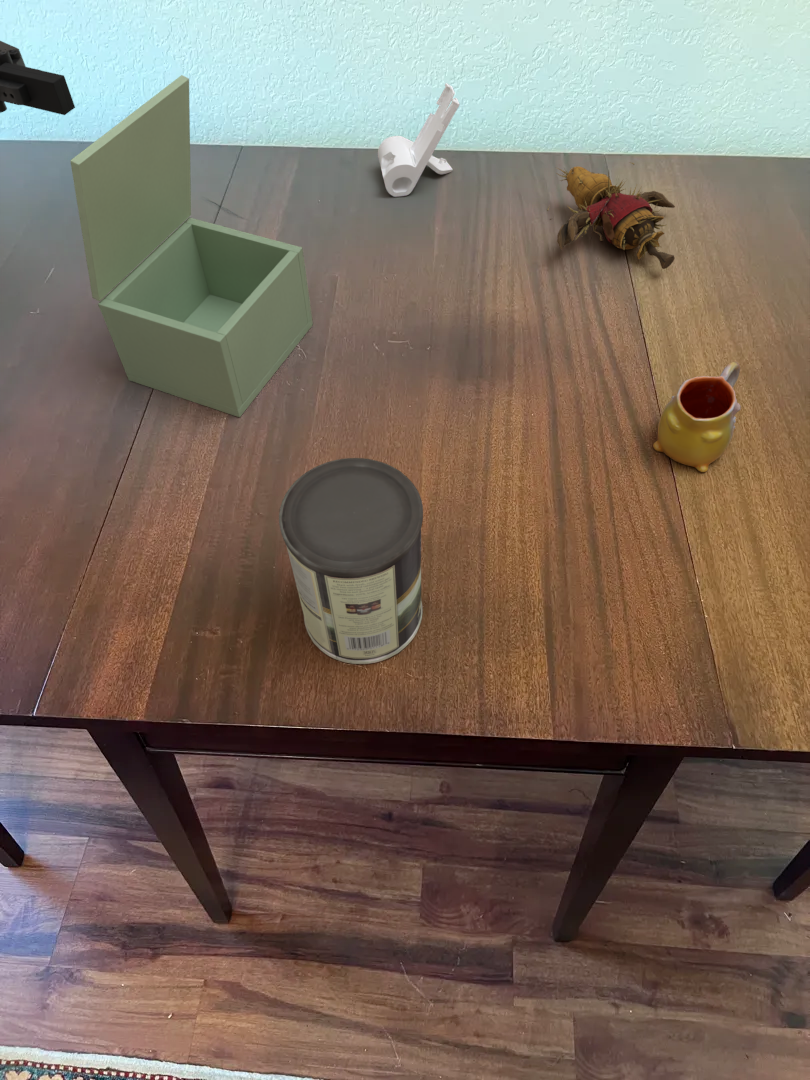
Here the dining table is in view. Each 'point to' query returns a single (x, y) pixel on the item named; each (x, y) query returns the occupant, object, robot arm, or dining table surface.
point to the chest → (210, 314)
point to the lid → (134, 186)
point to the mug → (700, 419)
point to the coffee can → (356, 557)
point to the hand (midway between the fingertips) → (64, 95)
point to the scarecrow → (614, 214)
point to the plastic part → (417, 149)
